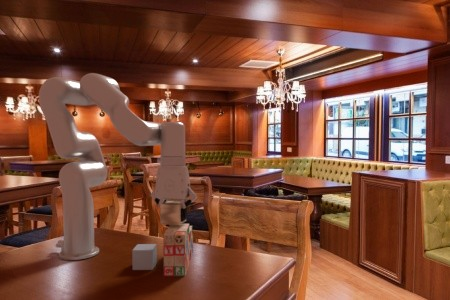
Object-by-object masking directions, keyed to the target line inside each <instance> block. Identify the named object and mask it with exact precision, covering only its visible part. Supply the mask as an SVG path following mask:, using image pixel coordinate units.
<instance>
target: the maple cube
mask: <svg viewBox="0 0 450 300" xmlns="http://www.w3.org/2000/svg"><path fill="white" fill-rule="evenodd" d="M181 208H182V206H181V203H180V200H167V202H165V203H162V204H160V207H159V217H160V218H159V219H160V221H159V222H160V225H168V226H169V225H180V224H184V223H185V222H187V219H186V220H185V221H183V222H181Z"/></svg>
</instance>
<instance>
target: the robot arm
mask: <svg viewBox="0 0 450 300" xmlns="http://www.w3.org/2000/svg"><path fill="white" fill-rule="evenodd" d="M120 88H121V87H120V85H119V83H118V82H117V80H115V79H114V78H112V77H110V76H106V75H103V74H99V73H96V72H95V73H94V72H90V73H87V74H85V75H83V76H82V77H81V78H80V80H75V79H71V78H66V77H62V76H61V77H60V76H54V77H50V78H47V79H46V80H45V81H44V82H43V83H42V85H41V86H40V89H39V92H38V101H39V102H38V103H39V106H40V107H39V108H40V109H41V112H42V114H43V116H44V118H45V121H46V124H47V128H48V130H49V133H50V137H51V141H52V143H53V147H54V150H55V152H56V155H57V156H58V157H59V158H61V159H65V160H72V159H78V160H79V161H78V160H77V161H75V160H74V161H71V162H69V163H66V164H64V165H63V166H62V167H61V169H60V170H59V173H58V181H59V186H60V189H61V195H62V197H61V198H62V215H63V216H62V218H63V219H62V220H63V222H62V224H63V226H62V227H63V239H59V240H58V241H57V243H55V247H56V248H61V250H60V251H59V252H58V258H60V259H61V260H64V261H65V260H66V261H80V260H85V259H89V258H92V257H95V256H97V255H98V254H99V253H100V248H99V246H96V245H95V215H94V214H95V213H94V210H95V208H94V199H93V197H94V196H93V195H92V192H91V190H90V188H93V187H97V186H100V185H102V184H104V182H105V181H106V180H107V177H108V168H107V164H106V162H105V161H106V160H105V158H104V155H103V151H102V149H101V146H100V142H99V141H98V139H97V137H96V136H95V135H94V134H92V133H91V132H87V131H80V130H79V129H78V127H77V124H76V120H75V118H74V116H73V113H72V112H71V111H70V110H69V108H68V107H67V106H66V105H72V106H73V105H74V106H83V107H84V106H91V105H95V106H97V107H98V108H99V109H100V110H102V112H104V113H105V114H106V115H107V116H108V117H109V120H110V122H111V124H112V126H113V128H114V129H115V130H116V131H117V132H118V133H119V134H120V135H121V136H122V137H124V138H125V139H126V140H127V141H129V142H130V143H132V144H134V145H135V146H139V147H147V146H149V147H152V146H153V147H156V146H160V157H158V158H156V159H157V160H156V161H157V163H159V165H160V166H158V167H157V171H156V179H155V188H154V190H153V191H152V192H151V193H150V194H149V196H150V197H151V198H152V200H154V202H155V203H156V204H157V205H158V208H160V204H162V203H165V202H167V201H168V200H170V201H180V203H181V206H182V208H181V222H183V221H185V220H186V221H187V218H188V207H189V206H190V205H191V204H192V203H193V202H194V201H196V199H197V198H198V195H197V194H196V193H195V191H194V190H193V189H192V188H191V179H190V173H189V169H188V166H187V165H186V125H185V124H184V123H183V122H181V121H166V122H157V121H148V120H147V121H146V120H143V119H141V117H139V116H138V115H136V114H135V113H134V112H133V111H132V110H131V109H130V108H129V105H130V99H129V97H128V96H127V95H125V94H124V93H123V92H122V91H121V89H120ZM189 197H190V198H189ZM187 198H188V199H187ZM186 221H185V222H186ZM183 223H184V222H183Z"/></svg>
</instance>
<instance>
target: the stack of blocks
mask: <svg viewBox="0 0 450 300" xmlns="http://www.w3.org/2000/svg"><path fill="white" fill-rule="evenodd" d="M162 238H163V239H162V240H163V241H162V242H163V243H162V244H163V246H162V247H163V248H162V251H163V277H185V276H186V274H187V272H188V270H189V266H190V263H191V258H192V257H193V253H194V236H193V225H190V223H181V224H180V225H169V224H168V227H167V229H166V230H165V232H164V233H163V237H162Z"/></svg>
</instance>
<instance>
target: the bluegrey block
mask: <svg viewBox="0 0 450 300" xmlns="http://www.w3.org/2000/svg"><path fill="white" fill-rule="evenodd" d="M157 249H158V248H157V244H156V243H137V244H136V245H135V246H134V248H133V249H132V250H131V251H132V252H131V253H132V255H131V256H132V257H131V258H132V271H152V270H154V268H155V267H156V264H157V263H158V258H157V256H158V254H157V253H158V252H157Z"/></svg>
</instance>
